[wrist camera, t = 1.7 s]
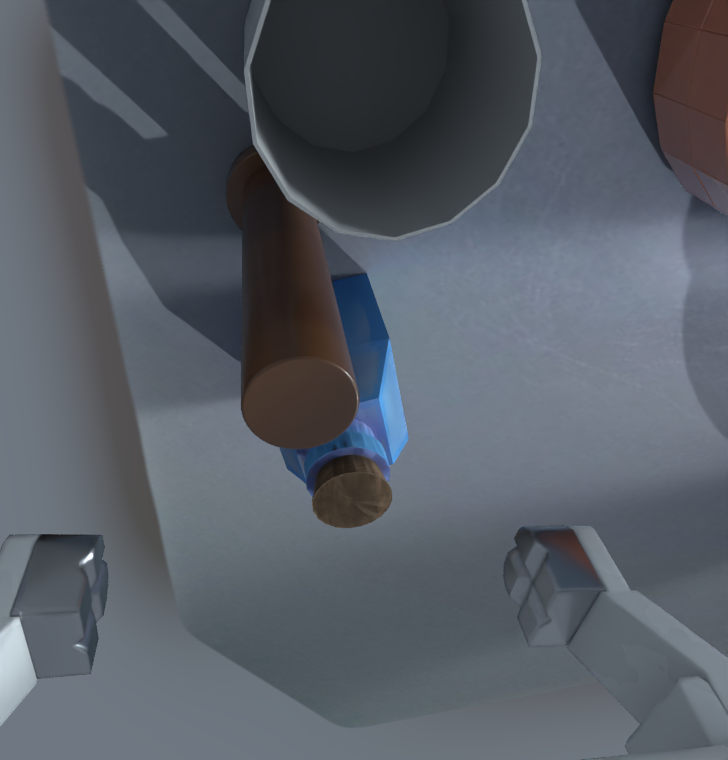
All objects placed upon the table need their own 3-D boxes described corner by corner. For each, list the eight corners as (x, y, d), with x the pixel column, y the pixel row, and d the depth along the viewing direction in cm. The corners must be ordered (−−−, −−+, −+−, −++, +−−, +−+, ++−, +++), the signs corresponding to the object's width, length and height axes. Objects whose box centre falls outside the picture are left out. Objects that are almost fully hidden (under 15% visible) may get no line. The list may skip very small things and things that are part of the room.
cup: (473, -50, 24) (588, -39, 16) (420, 162, 28) (488, 253, 20) (254, -108, 22) (260, -129, 14) (235, 131, 26) (231, 218, 18)
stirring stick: (206, 191, 28) (174, 415, 15) (271, 118, 26) (297, 297, 13) (279, 252, 30) (304, 491, 17) (342, 188, 28) (421, 397, 16)
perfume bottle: (385, 367, 35) (437, 530, 26) (281, 392, 35) (295, 566, 25) (366, 273, 31) (419, 424, 22) (249, 301, 31) (251, 465, 22)
